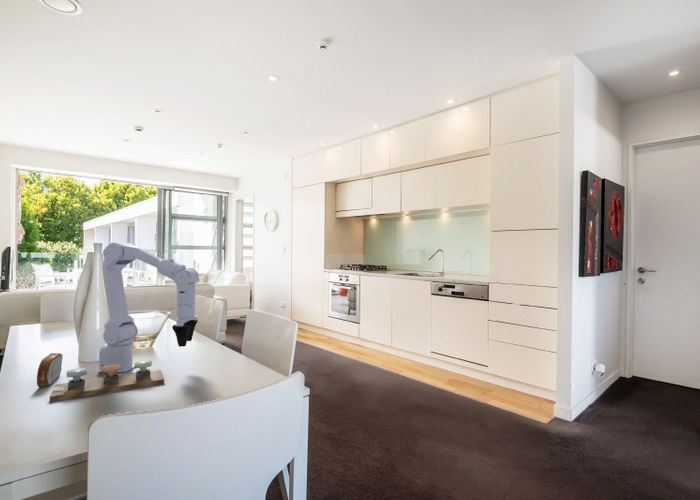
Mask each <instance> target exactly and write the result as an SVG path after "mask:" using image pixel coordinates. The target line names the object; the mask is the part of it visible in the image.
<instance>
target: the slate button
mask: <svg viewBox="0 0 700 500" xmlns="http://www.w3.org/2000/svg"><path fill="white" fill-rule="evenodd" d="M87 371H88V369H87V368H86V367H79V368H72V369H68V370H67V371H66V374H65V375H66V378H72V379H73V382H78V381H80V378H82V376H86V375H88V373H87Z"/></svg>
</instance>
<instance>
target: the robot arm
mask: <svg viewBox="0 0 700 500" xmlns="http://www.w3.org/2000/svg"><path fill="white" fill-rule="evenodd" d="M102 253H103V263H102V267H101V268H102V276H103V283H104V288H105V294H106V296H105V297H106V302H107V309H108V310H107V311H108V314H109V318H108V320H107V321H106V322H105V323H104V324H103V325H104V330H103V331H104V332H103V335H102V337H103V340H104V342H105V344H103V345H102V347H100V350H99V360H98V361H99V364H98V365H99V367H98V370H97V372H98V373H103V372H102V367H103V366H105V365H110V364H120V365H121V369H120V370H119V371H116V372H115V373H127V372H129V371H130V370H132V369H134V368H135V363H133V359H134V358H133V356H134V355H133V353H134V351H133V347H134V346H133V344H134V340H135V338H136V337H137V335H138V330H139V329H138V327H137V325H136V324H135V321H134V320H135V319H134V318H133V317H132V316H131V315H130V314H129V312H128V311H129V310H128V306H127V300H126V294H125V287H124V285H125V284H124V280H123V273H122V271H123V269H125V267H126V266H128V265H129V264H131V263H132V262H134V261H135V260H138V261H140V262H143V263H145V264H147V265H150V266H152V267H155V268H156V270H157V273H158V274H160V275H162V276H164V277H166V278H168V279H170V280H172V281H173V282H174V283H175V285H176V317H175V320H176V324H173V325H172V331H173V332H174V334H175V336H176V341H177V345H178V347H179V348H180V347H181V348H182V347H187V343H188V342H192V339H193V336H194V332H195V328H196V325H197V324H198V321H199V320H198V319H199V315H195V314H196V283H197V282H198V281H199V277H200V276H199V273H198V271H197V270H196V269H195V268H193V267H188V268H187V267H186V265H185V264H180V263H178V262H176V261H175V259H174V258H172V257H171V258H170V257H169V258H168V257H167V258H163V259H162V258H160V257H159V256H157V255H155V254H154V253H152V252H151V251H148V250H147V249H145V248H143V247H142V246H140V245H137V244H135V243H133V242H132V243H131V242H129V243H125V242H123V243H122V242H121V243H120V242H110V243H109V244H107V246H106V247H105V248H104V249H103V250H102Z"/></svg>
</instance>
